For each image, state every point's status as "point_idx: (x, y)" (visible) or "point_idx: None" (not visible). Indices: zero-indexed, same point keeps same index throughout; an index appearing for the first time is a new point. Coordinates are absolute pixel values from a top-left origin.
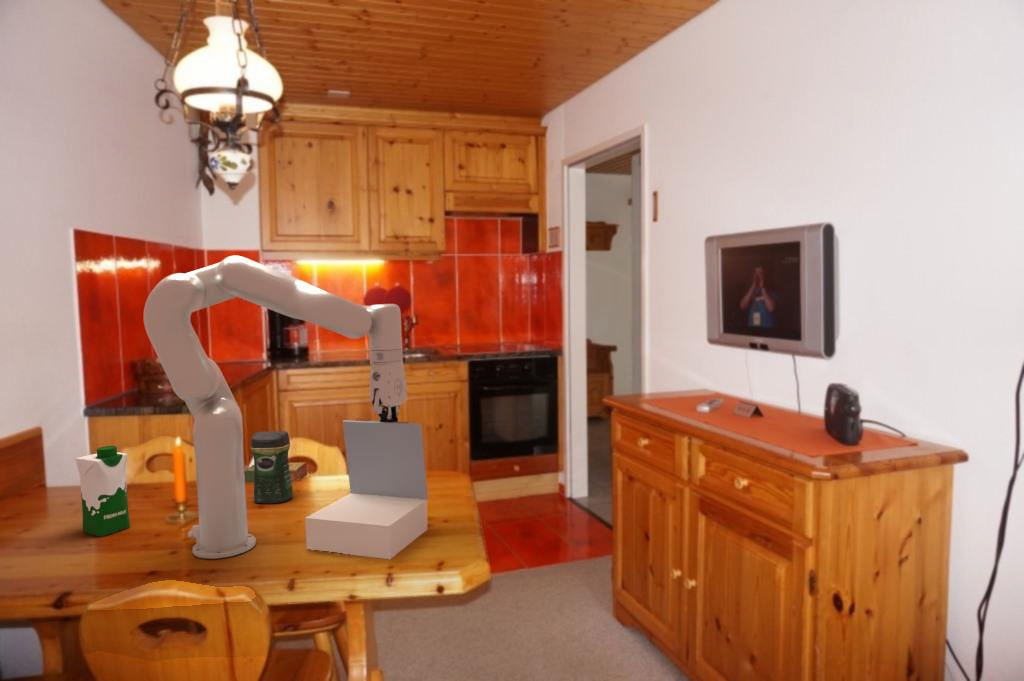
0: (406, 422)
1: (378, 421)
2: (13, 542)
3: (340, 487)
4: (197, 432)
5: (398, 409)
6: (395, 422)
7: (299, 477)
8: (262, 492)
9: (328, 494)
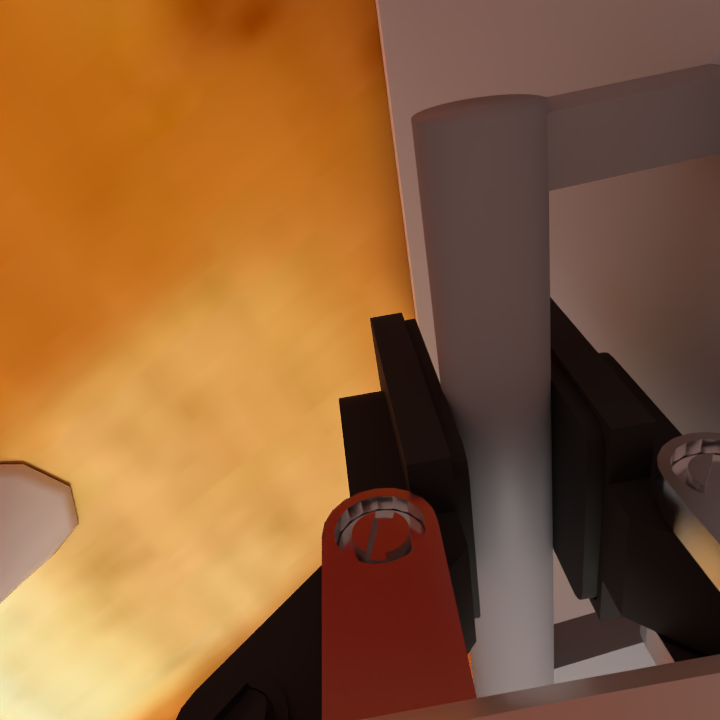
0: (517, 136)
1: (537, 625)
2: None
3: (93, 633)
4: None
5: (335, 622)
6: (537, 372)
7: None
8: None
9: (186, 612)
